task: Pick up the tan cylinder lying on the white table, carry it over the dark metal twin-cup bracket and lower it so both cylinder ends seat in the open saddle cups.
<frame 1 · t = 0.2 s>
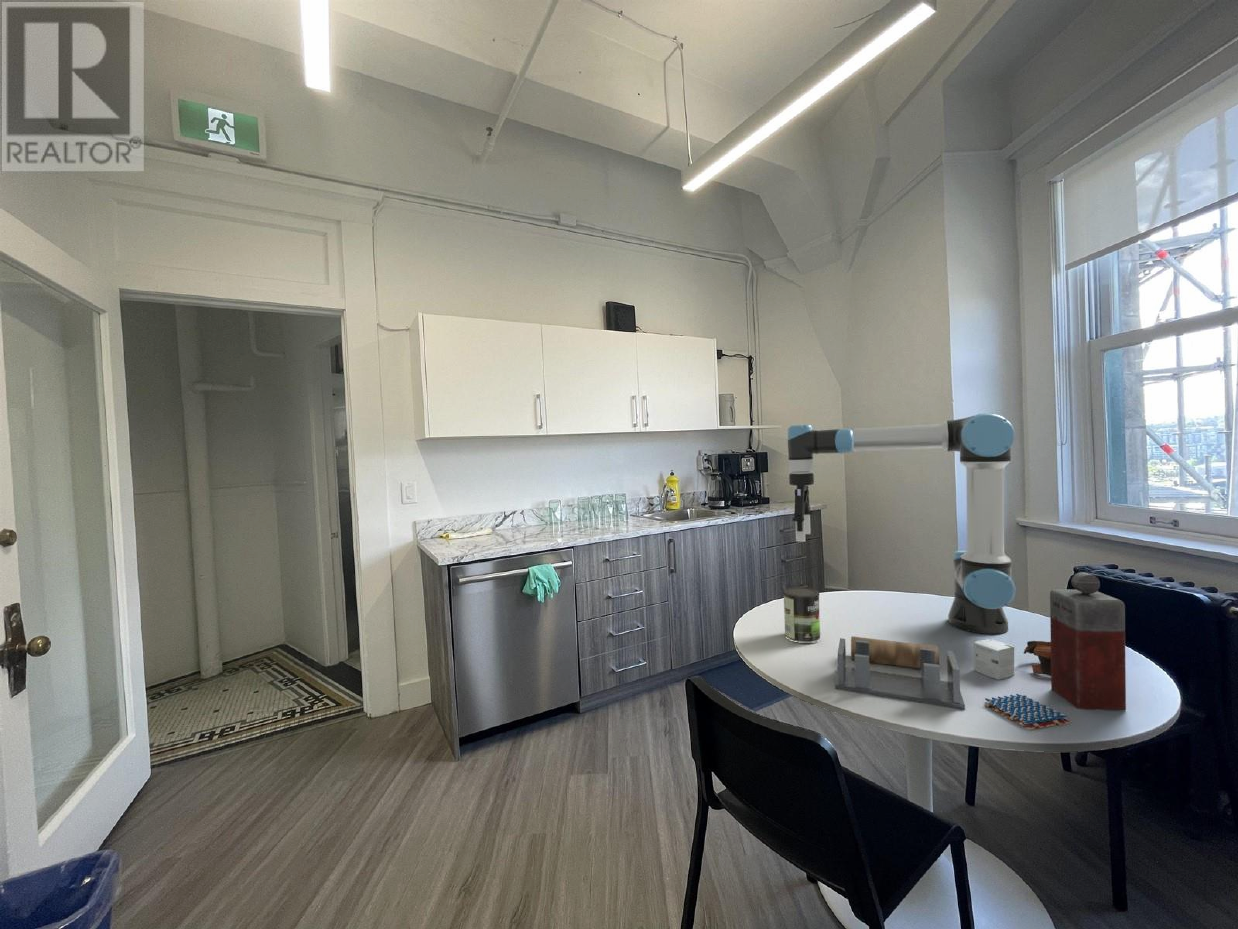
hand: (803, 537, 166), 28 cm above the table, fingers open, 13 cm apart
woven mat: (1025, 717, 107), on the table
red grey decanter: (1083, 697, 113), on the table
skincare box: (994, 674, 126), on the table
orange brown curved figurine: (1052, 672, 126), on the table
bracket: (895, 687, 121), on the table
coffee can: (802, 638, 154), on the table
tan cylinder: (893, 664, 134), on the table
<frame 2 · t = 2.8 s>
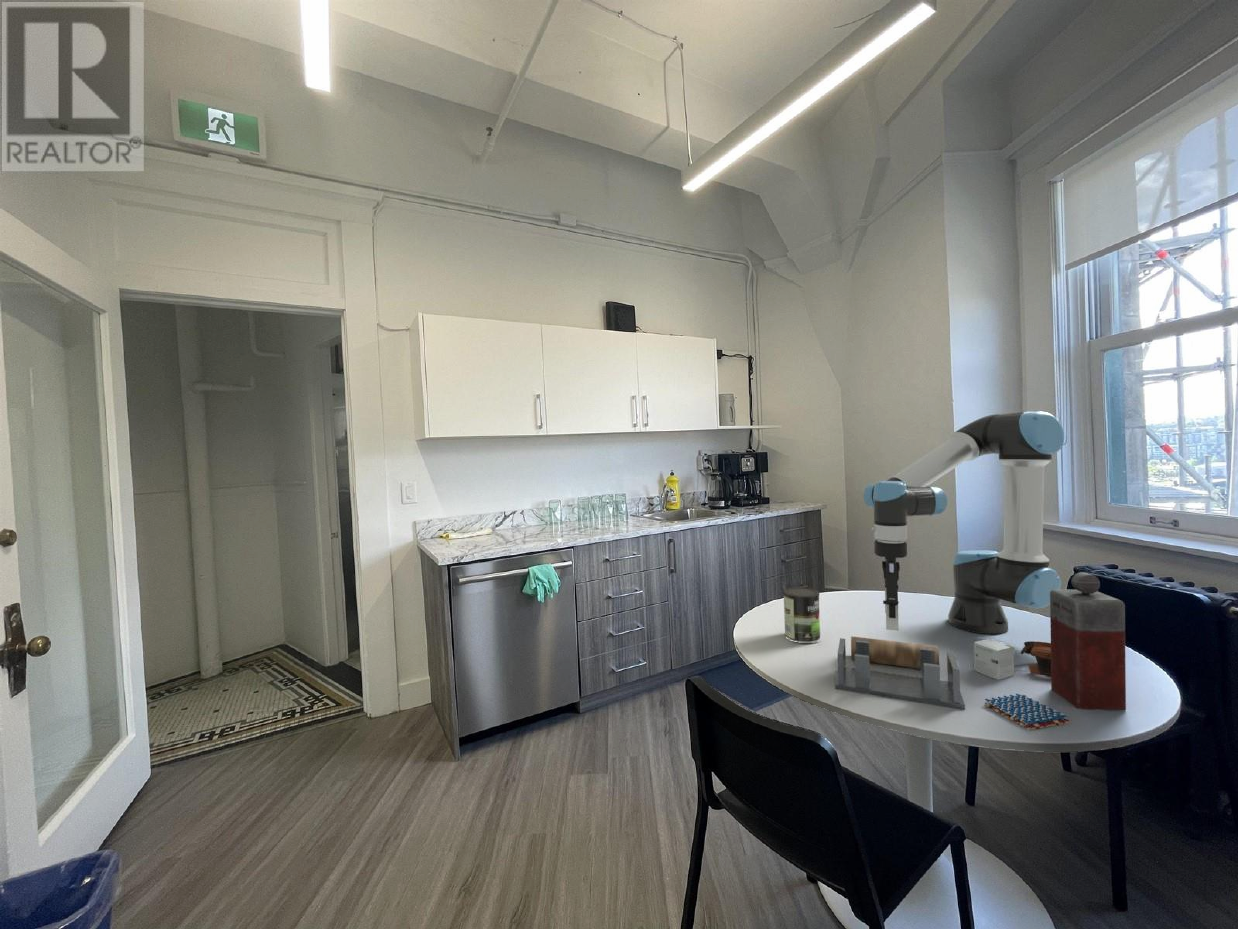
hand: (891, 621, 133), 11 cm above the table, fingers open, 13 cm apart
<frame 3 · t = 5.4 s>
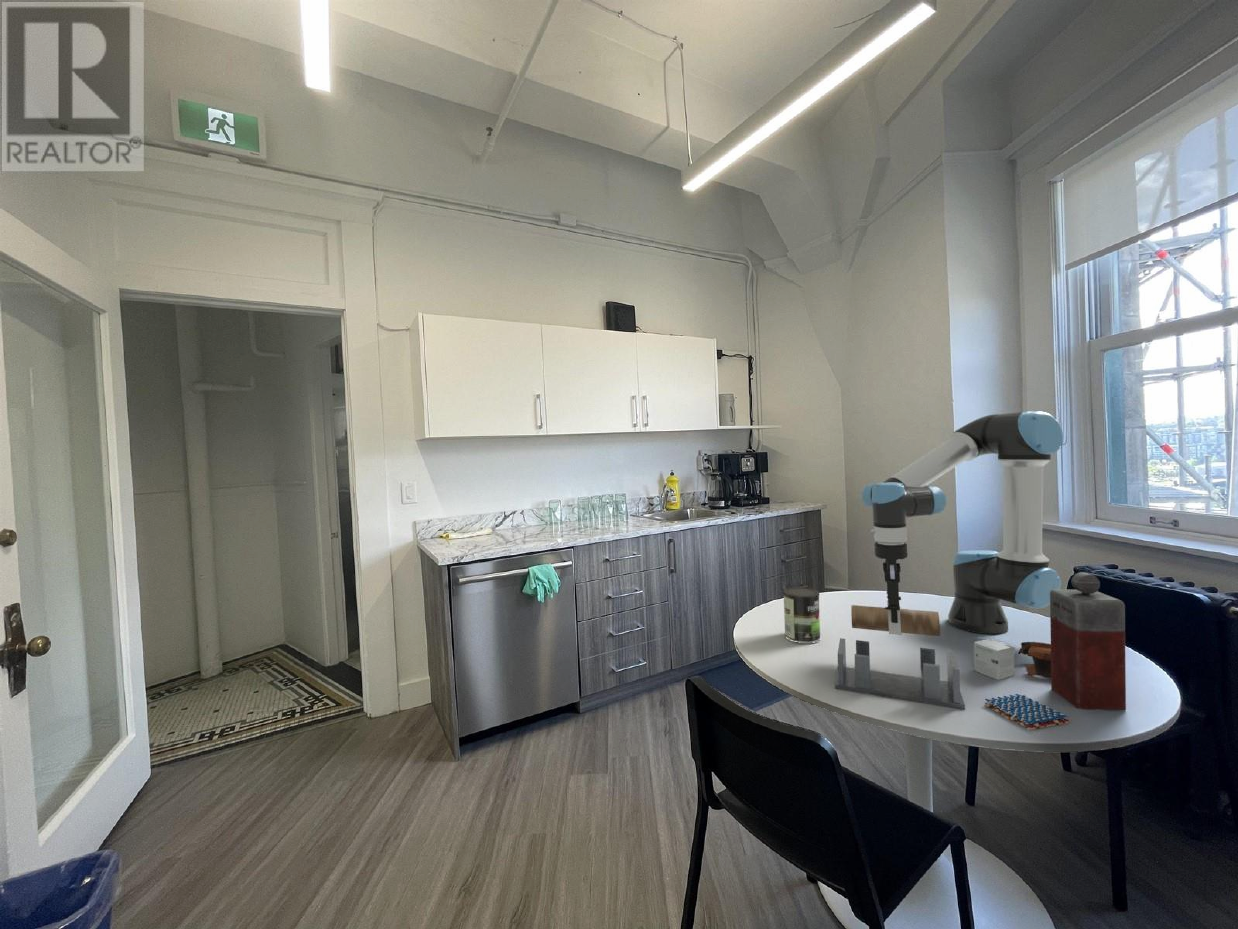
hand: (894, 629, 134), 9 cm above the table, fingers closed on tan cylinder, 6 cm apart
tan cylinder: (894, 631, 134), point 8 cm above the table, touching gripper
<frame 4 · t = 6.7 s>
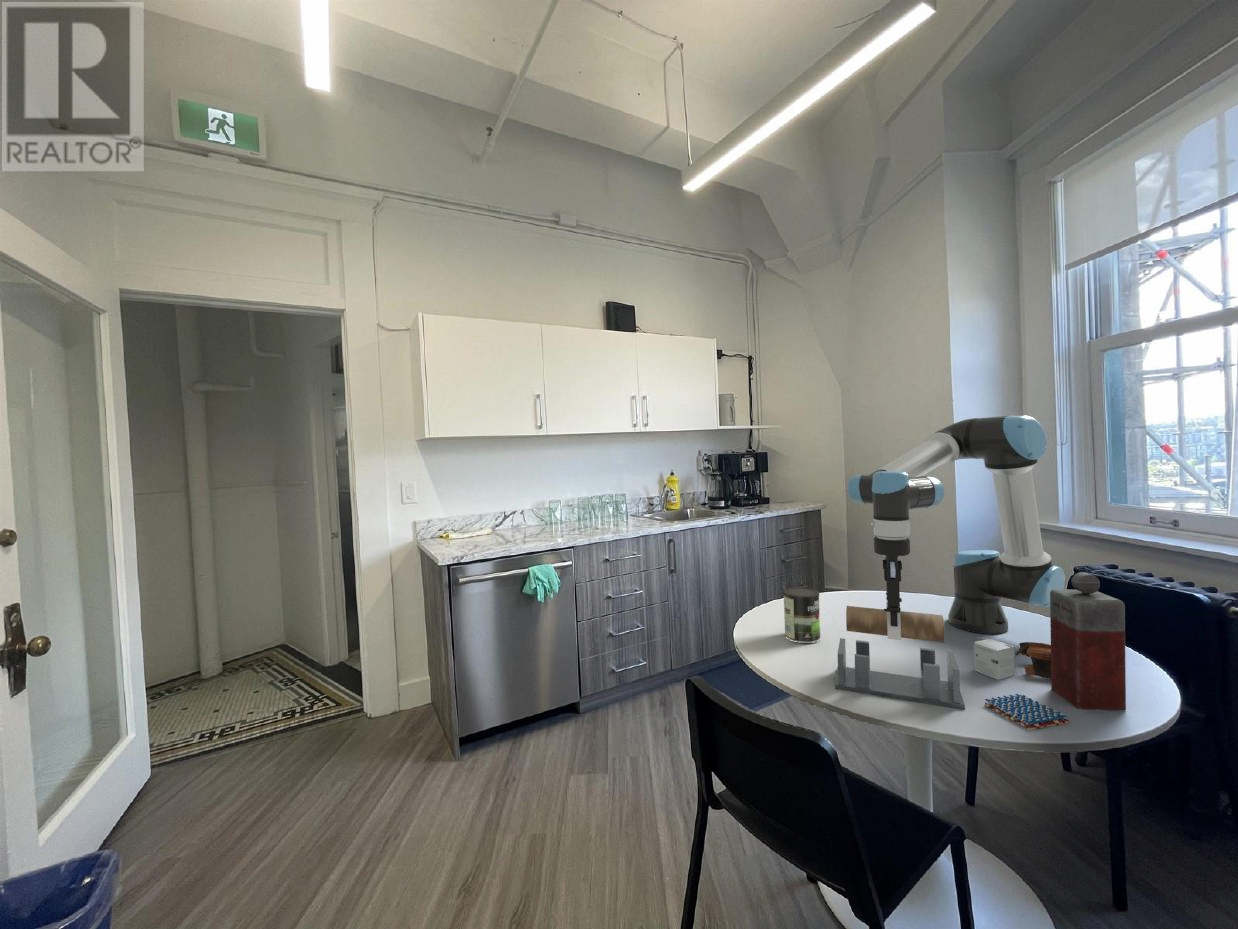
hand: (893, 633, 121), 13 cm above the table, fingers closed on tan cylinder, 6 cm apart
tan cylinder: (893, 635, 121), point 12 cm above the table, touching gripper
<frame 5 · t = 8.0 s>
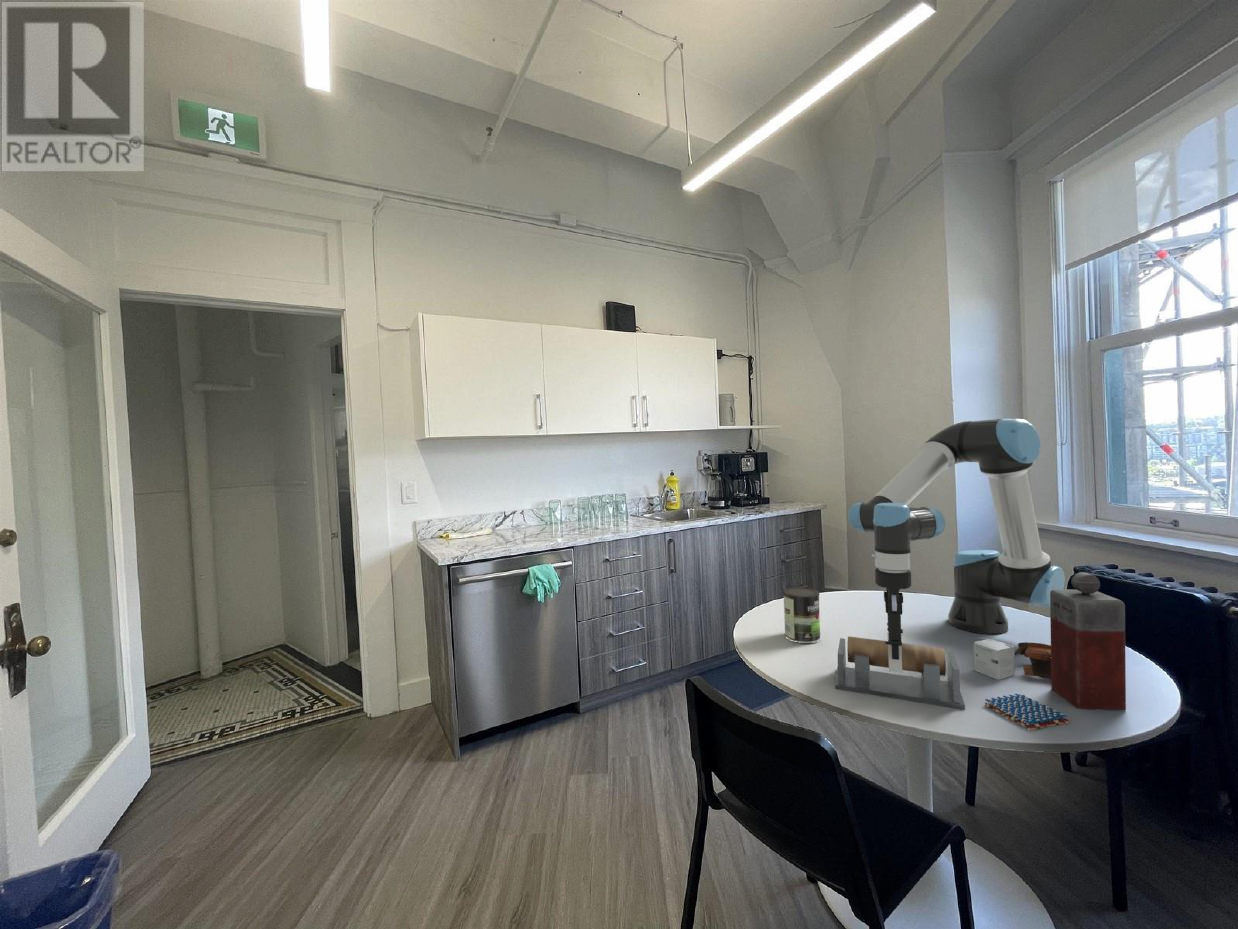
hand: (894, 665, 121), 5 cm above the table, fingers closed on tan cylinder, 6 cm apart
tan cylinder: (894, 667, 121), point 5 cm above the table, touching gripper
when the fingers open (5 cm above the table, at t = 8.5 s): tan cylinder stays where it is, resting on bracket.
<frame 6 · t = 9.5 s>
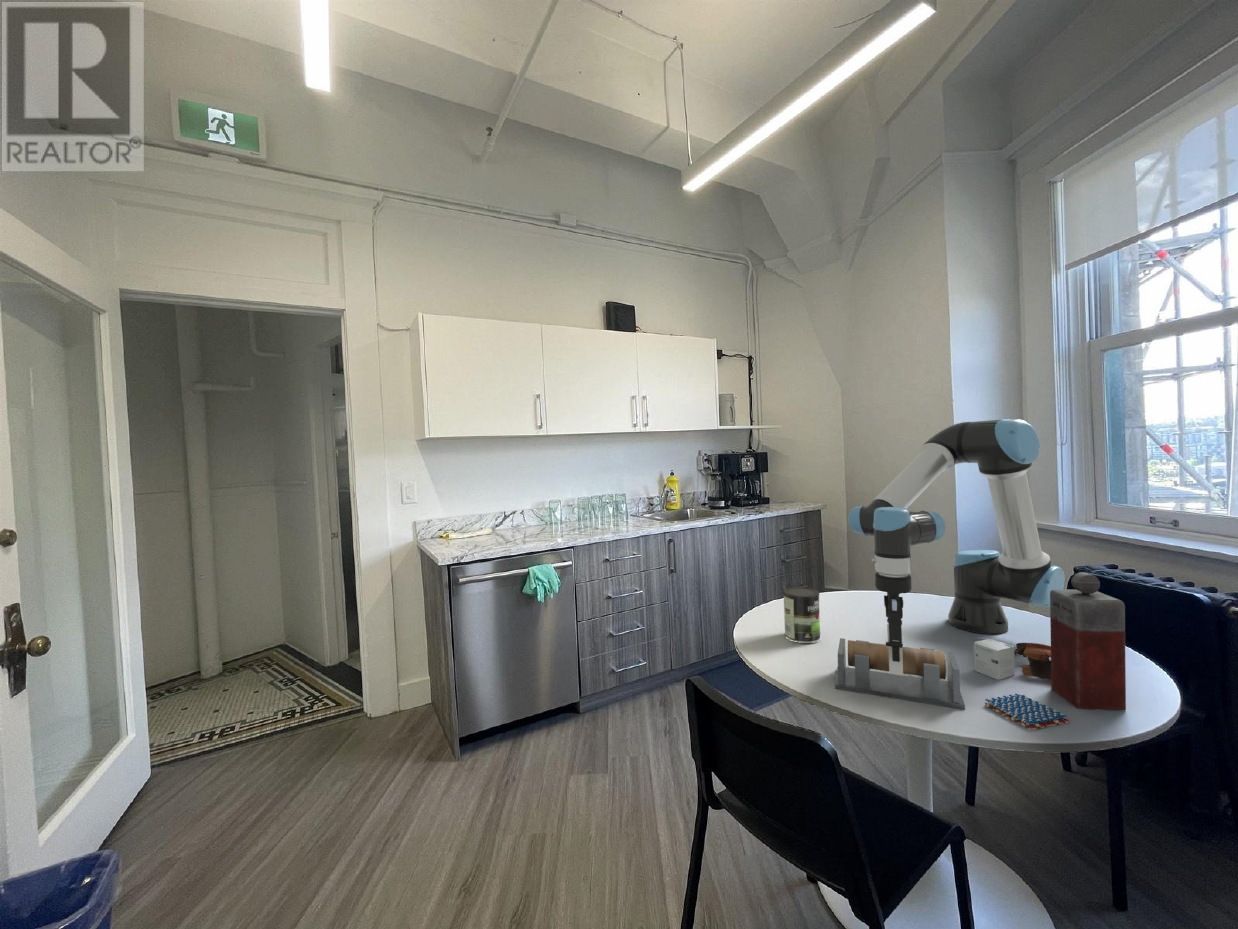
hand: (895, 662, 121), 6 cm above the table, fingers open, 13 cm apart
tan cylinder: (894, 671, 121), point 4 cm above the table, touching bracket
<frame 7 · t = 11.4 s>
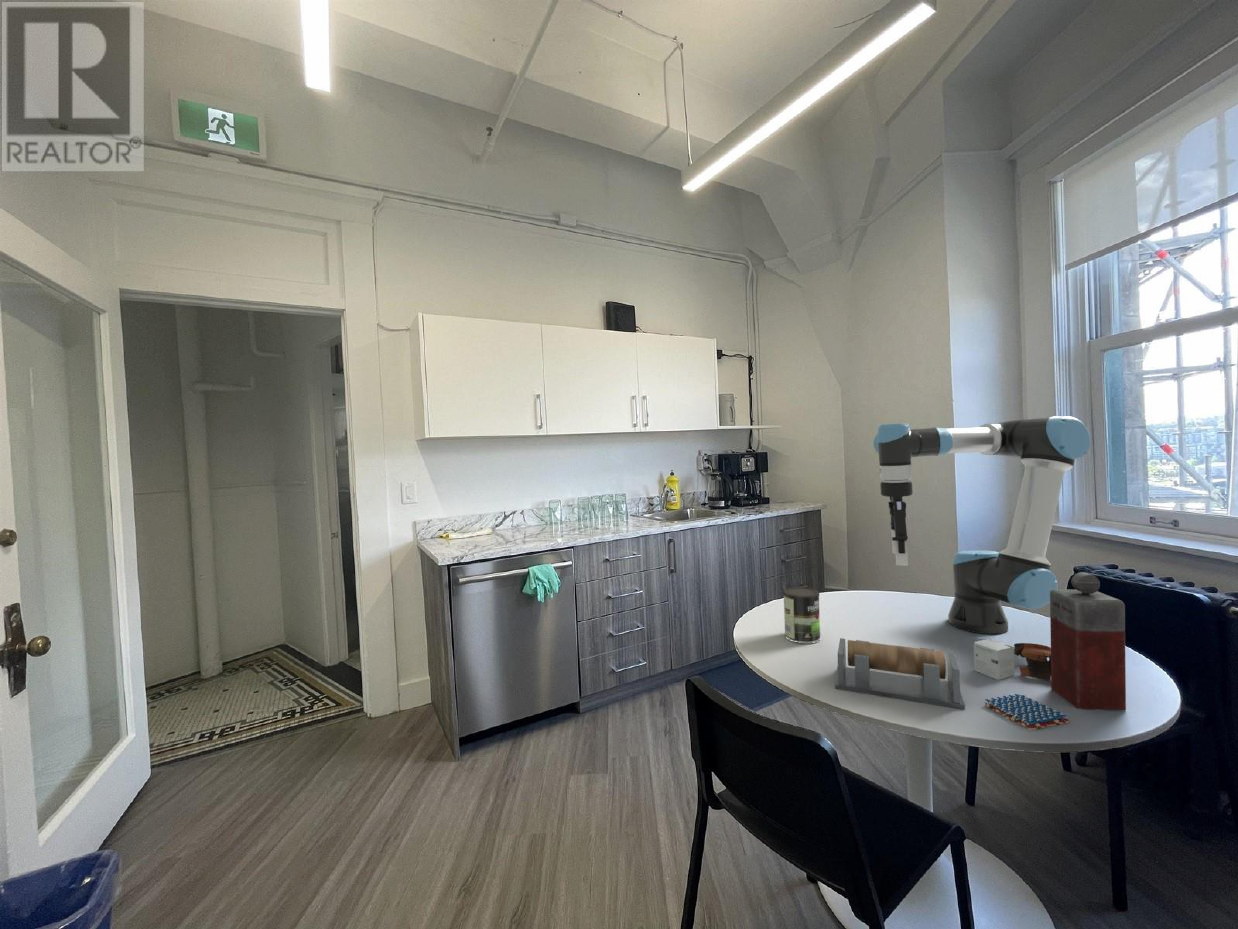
hand: (899, 559, 137), 26 cm above the table, fingers open, 13 cm apart
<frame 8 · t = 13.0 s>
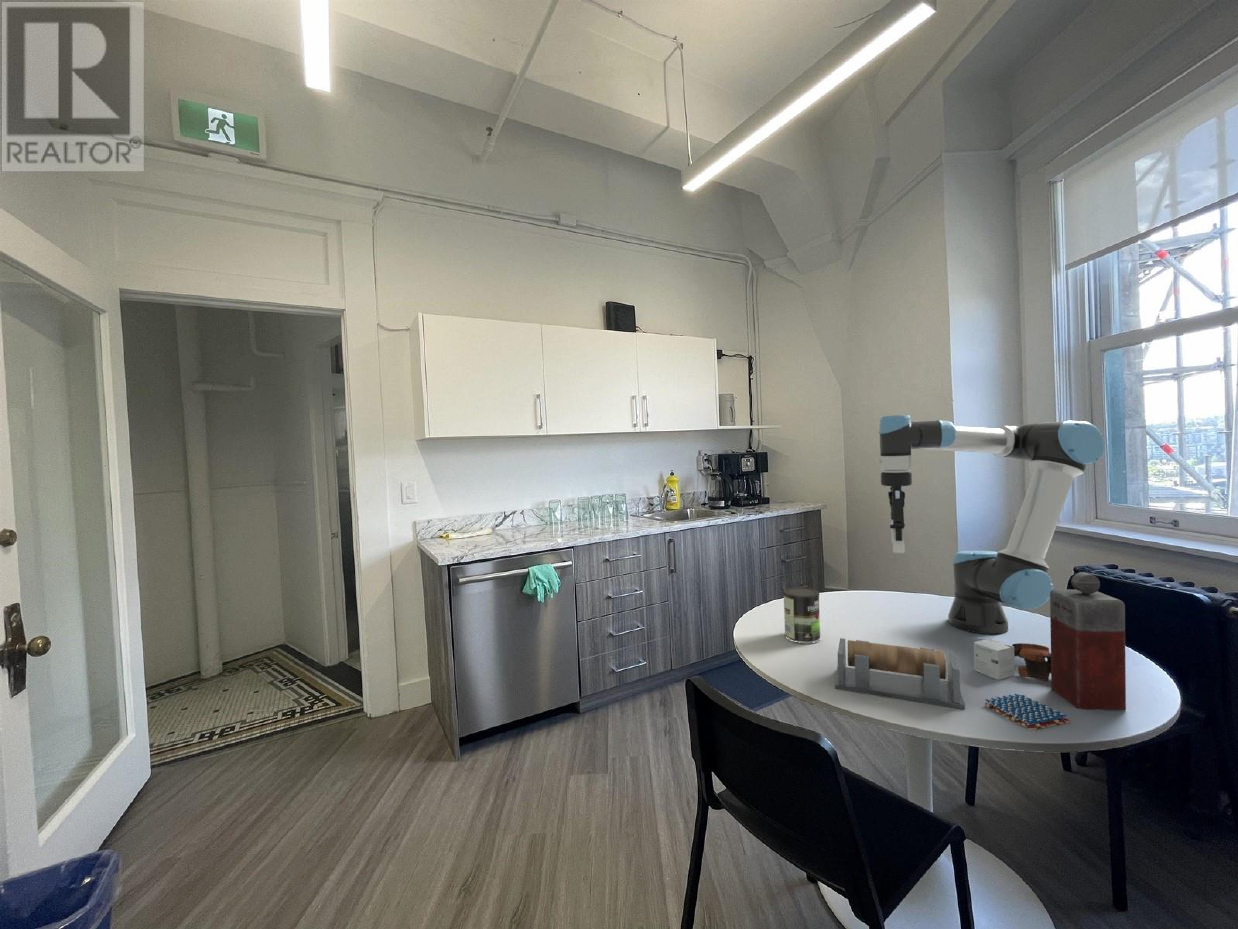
hand: (897, 547, 141), 29 cm above the table, fingers open, 13 cm apart
at the end: tan cylinder 0.1 cm off-centre on the bracket, point 4.0 cm above the bracket's base; the gripper is holding nothing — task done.
